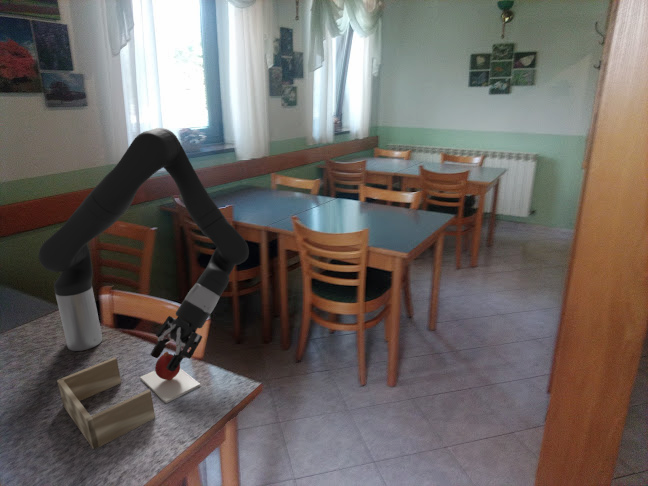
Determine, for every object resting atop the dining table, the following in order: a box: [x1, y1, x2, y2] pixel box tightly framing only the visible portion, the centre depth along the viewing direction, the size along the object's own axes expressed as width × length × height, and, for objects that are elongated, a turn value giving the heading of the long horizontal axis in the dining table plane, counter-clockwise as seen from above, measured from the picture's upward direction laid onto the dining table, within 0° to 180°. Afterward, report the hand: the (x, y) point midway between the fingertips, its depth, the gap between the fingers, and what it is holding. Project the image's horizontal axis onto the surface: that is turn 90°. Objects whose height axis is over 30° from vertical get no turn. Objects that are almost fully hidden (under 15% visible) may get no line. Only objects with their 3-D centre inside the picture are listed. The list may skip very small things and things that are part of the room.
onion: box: [154, 351, 181, 380], centre depth 109 cm, size 6×6×8 cm
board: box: [139, 367, 201, 404], centre depth 110 cm, size 14×9×1 cm, turn 45°
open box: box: [56, 356, 156, 450], centre depth 99 cm, size 20×13×7 cm, turn 45°
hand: (161, 363), depth 107 cm, fingers open, 8 cm apart
